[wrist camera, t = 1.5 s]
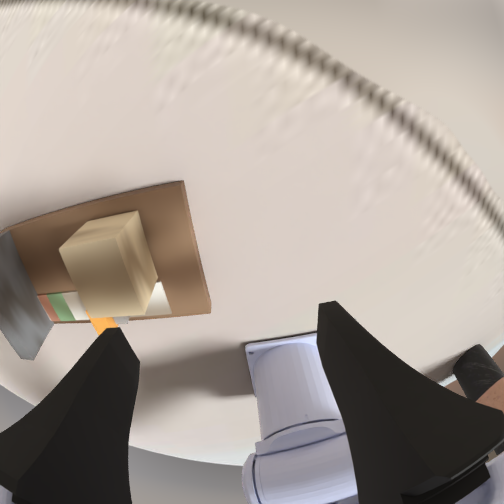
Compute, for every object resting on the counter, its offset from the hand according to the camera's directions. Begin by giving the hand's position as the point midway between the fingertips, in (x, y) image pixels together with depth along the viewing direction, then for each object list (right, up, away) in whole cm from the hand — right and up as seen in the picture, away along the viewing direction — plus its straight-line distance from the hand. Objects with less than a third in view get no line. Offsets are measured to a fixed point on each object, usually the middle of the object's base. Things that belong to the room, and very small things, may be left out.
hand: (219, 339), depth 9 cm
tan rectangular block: (-8, +2, +8) cm, 12 cm away
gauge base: (-12, +2, +10) cm, 15 cm away
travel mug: (+39, -16, +24) cm, 48 cm away
